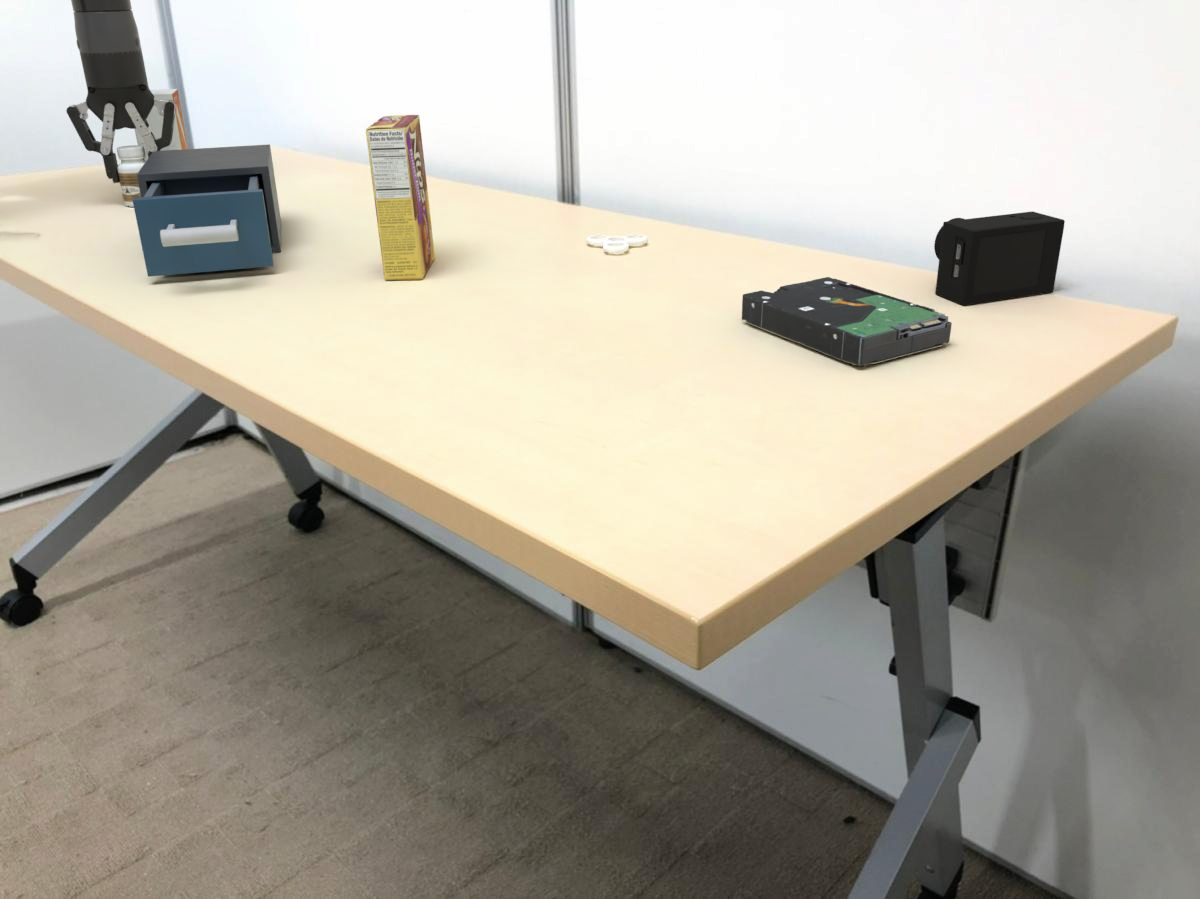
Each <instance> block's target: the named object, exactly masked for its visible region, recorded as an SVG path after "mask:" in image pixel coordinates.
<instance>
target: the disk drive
mask: <svg viewBox="0 0 1200 899" xmlns="http://www.w3.org/2000/svg"><path fill="white" fill-rule="evenodd" d="M741 304H742V305H741V320H742V321H745V322H746V323H747V324H749V325H751V326H754V327H756V328H759V329H761V330H763V331H766V332H769V333H771V334H772V335H773V334H774V335H776V336H778V337H781V338H783V339H786V340H789V341H792V342H794V343H797V344H800V345H801V346H805V347H807V348H809V349H812V350H814V351H817V352H819V353H821V354H824V355H826V356H829V357H832V358H834V359H835V360H839V361H842V362H844V363H849V364H851V365H853V366H858V367H862V366H864V367H867V366H868V365H875V364H879V363H883V362H886V361H890V360H894V359H897V358H901V357H905V356H909V355H913V354H917V353H921V352H925V351H928V350H932V349H935V348H938V347H943V346H944V344H948V343H950V339H951V332H952V324H953V323H952V322H951V321H949V316H948V315H946V314H945V313H943V312H939V311H936V310H935V309H933V308H930V307H927V306H926V305H925V306H924V305H920V304H915V303H913V302H911V301H907V300H904V299H901V298H897V297H895V296H891V295H888V294H885V293H881V292H878V291H875V290H872V289H869V288H866V287H862V286H860V285H856V284H853V283H849V282H847V281H844V280H841V279H837V278H833V277H830V276H826V277H821V278H816V279H813V280H807V281H802V282H798V283H797V282H796V283H791V284H786V285H782V286H779V288H777V290H775V291H773V292H771V291H766V290H756V291H752V292H747V293H743V294H742V301H741Z"/></svg>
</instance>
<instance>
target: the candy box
mask: <svg viewBox="0 0 1200 899" xmlns="http://www.w3.org/2000/svg"><path fill="white" fill-rule="evenodd" d="M365 137H366V143H367V150H368V159H369V166H370V176H371V183H372V191H373V198H374V206H375V207H374V208H375V215H376V223H377V230H378V238H379V245H380V252H381V261H382V269H383V277H384V280H385V281H418V280H423V279H424V277H425V275H426V274H427V271H429V268H430V266H431V264H432V263H433V262H434V260H435V258H436V253H435V246H434V245H435V244H434V236H433V228H432V219H431V208H430V200H429V198H430V197H429V192H428V182H427V175H426V166H425V165H426V164H425V156H424V149H423V148H424V146H423V140H422V139H423V138H422V131H421V119H420V115H419V114H396V115H395V114H394V115H384V116H381V117H380V118H379V119H378V120H376V121H375V122H374V123H372V124H371V125H369V126H368V127H367V128H366V129H365Z"/></svg>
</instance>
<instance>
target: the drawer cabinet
mask: <svg viewBox="0 0 1200 899" xmlns="http://www.w3.org/2000/svg"><path fill="white" fill-rule="evenodd" d="M250 174H259V175H260V182H261V189H262V190H263V197H264V203H265V210H266V217H267V223H268V230H269V236H270V243H271V250H272V252H275V253H282V217H281V211H280V204H279V196H278V190H277V184H276V177H275V176H276V175H275V170H274V162H273V155H272V148H271V144H254V145H238V146H237V145H236V146H219V147H203V148H200V147H199V148H188V149H183V150H166V151H153V153H152V154H151V155H150V157H149V158H148V160H147V161H146V162H145V164H144V165H143V166H142V168H141V169H140V171H139V172H138V173H137V179H138V184H139V189H140V194H141V197H144V196H145V194H146V192H147V191H148V189H149V188H150V186H151V184H152V183H153V181H157V180H172V179H188V178H204V177H219V176H235V175H250Z"/></svg>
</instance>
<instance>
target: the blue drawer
mask: <svg viewBox="0 0 1200 899" xmlns="http://www.w3.org/2000/svg"><path fill="white" fill-rule="evenodd" d="M133 205H134V207H133V209H134V216H135V219H136V220H135V221H136V224H137V229H138V234H139V239H140V245H141V247H142V255H143V259H144V264H145V269H146V274H147V277H148V278H150V277H160V276H161V277H163V276H173V275H185V274H196V273H209V272H220V271H231V270H243V269H257V268H266V267H267V268H268V267H274V258H273V253H272V250H271V243H270V236H269V230H268V223H267V217H266V210H265V203H264V197H263V190H262V189H261V182H260V175H259V174H250V175H235V176H219V177H204V178H188V179H172V180H157V181H153V183H152V184H151V186H150V188H149V189H148V191H147V192H146V194H145V196H144V197H139V198H134V199H133Z"/></svg>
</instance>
